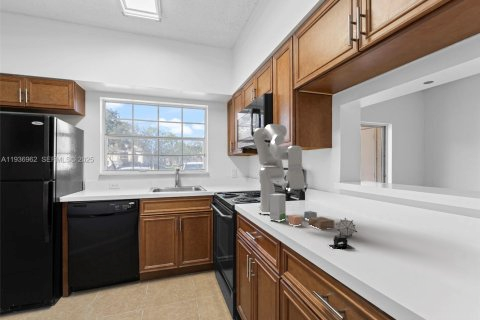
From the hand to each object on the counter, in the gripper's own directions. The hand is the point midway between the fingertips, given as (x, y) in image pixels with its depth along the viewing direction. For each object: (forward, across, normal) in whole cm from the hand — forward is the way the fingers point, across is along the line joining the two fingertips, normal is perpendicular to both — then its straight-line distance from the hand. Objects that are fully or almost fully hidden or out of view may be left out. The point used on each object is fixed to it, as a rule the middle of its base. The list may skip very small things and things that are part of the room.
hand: (295, 200), depth 124 cm
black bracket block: (+15, +6, +34) cm, 37 cm away
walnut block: (+14, -10, +8) cm, 19 cm away
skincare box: (+14, +2, -14) cm, 20 cm away
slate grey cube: (+14, -16, -6) cm, 22 cm away
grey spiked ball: (+14, -8, +25) cm, 30 cm away
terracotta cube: (+14, 0, -1) cm, 14 cm away
